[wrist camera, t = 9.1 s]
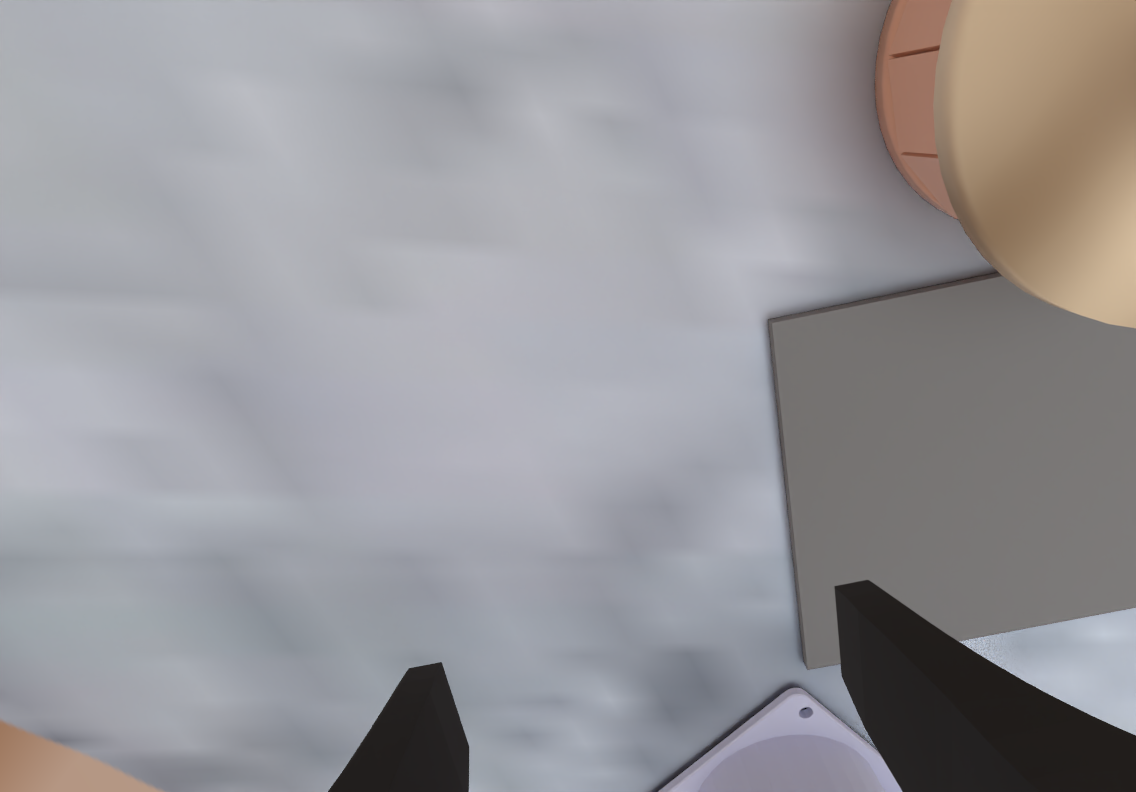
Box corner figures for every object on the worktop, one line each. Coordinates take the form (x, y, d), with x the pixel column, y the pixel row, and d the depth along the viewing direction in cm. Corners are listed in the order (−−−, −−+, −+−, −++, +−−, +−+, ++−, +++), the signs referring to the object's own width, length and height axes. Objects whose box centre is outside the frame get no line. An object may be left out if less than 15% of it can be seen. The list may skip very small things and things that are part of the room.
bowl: (1270, 51, 20) (1498, 29, 15) (997, 290, 22) (1124, 336, 17) (1095, -237, 17) (1304, -372, 13) (806, 62, 19) (894, 42, 15)
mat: (1248, 577, 26) (1259, 583, 25) (803, 662, 26) (807, 670, 26) (1307, 209, 21) (1321, 211, 21) (768, 319, 22) (772, 323, 21)
